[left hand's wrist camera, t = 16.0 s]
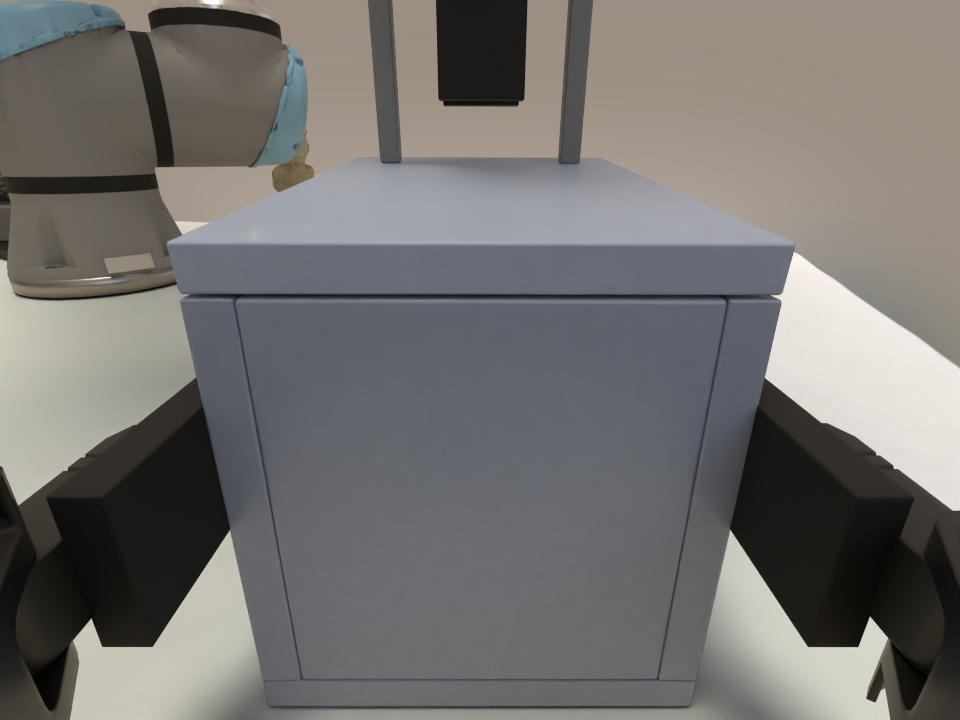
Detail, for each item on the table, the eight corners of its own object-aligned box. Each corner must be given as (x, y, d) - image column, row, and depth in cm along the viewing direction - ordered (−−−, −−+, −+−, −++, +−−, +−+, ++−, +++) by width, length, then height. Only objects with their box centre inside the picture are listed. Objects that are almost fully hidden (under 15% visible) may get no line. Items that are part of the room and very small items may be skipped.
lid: (360, 179, 21) (334, -86, 17) (599, 180, 21) (625, -85, 17) (178, 295, 8) (-68, -614, 5) (784, 296, 8) (1033, -608, 5)
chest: (376, 421, 25) (359, 210, 21) (581, 422, 25) (599, 211, 21) (268, 707, 12) (177, 299, 8) (690, 707, 12) (784, 300, 8)
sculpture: (287, 242, 73) (271, 125, 67) (274, 236, 78) (259, 127, 72) (328, 239, 76) (316, 126, 70) (313, 233, 81) (301, 128, 75)
